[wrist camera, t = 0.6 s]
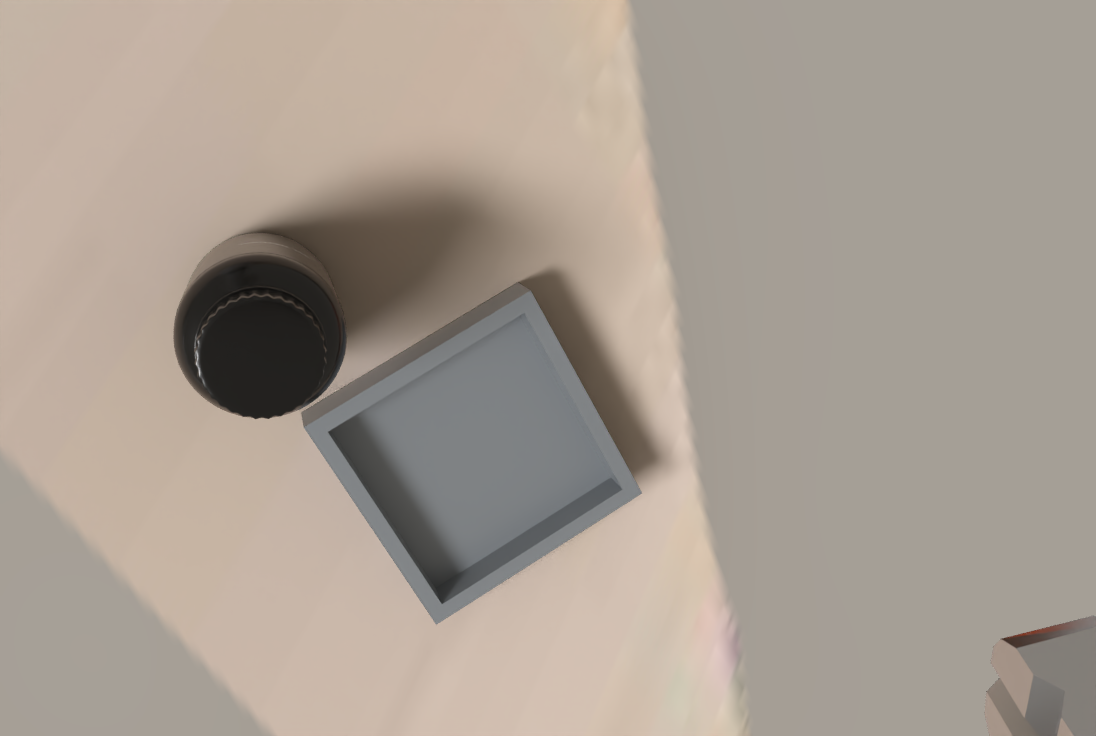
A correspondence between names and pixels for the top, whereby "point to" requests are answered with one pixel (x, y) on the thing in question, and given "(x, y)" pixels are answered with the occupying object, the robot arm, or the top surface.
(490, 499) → the tray
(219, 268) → the supplement bottle
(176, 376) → the top surface
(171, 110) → the top surface
